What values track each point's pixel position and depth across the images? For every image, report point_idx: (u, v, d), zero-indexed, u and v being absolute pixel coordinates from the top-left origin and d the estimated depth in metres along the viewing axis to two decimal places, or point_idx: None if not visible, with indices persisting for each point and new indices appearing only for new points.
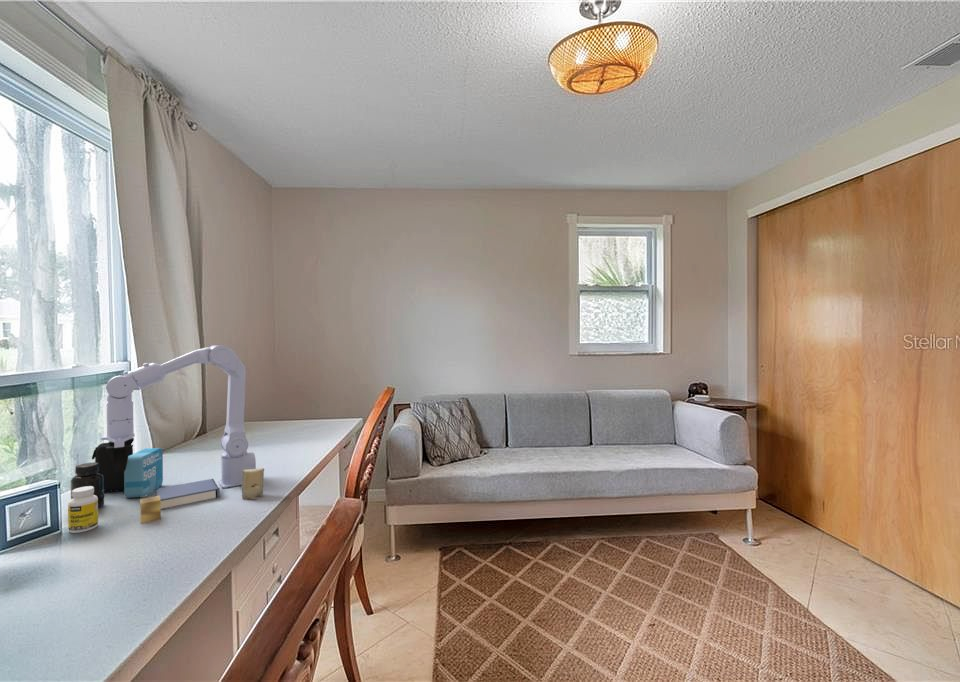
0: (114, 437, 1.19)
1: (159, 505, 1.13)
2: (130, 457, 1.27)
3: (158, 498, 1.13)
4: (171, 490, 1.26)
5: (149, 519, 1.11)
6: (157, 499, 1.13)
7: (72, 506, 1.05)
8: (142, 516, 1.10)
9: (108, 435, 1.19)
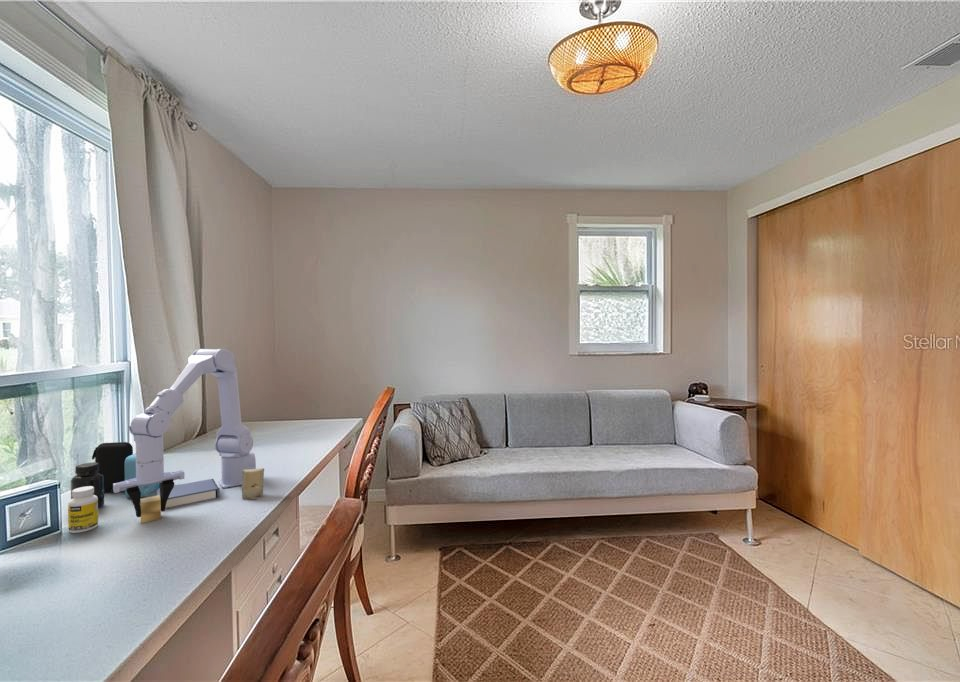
0: (136, 478, 1.12)
1: (159, 505, 1.13)
2: (130, 457, 1.27)
3: (158, 498, 1.13)
4: None
5: (149, 519, 1.11)
6: (157, 499, 1.13)
7: (72, 506, 1.05)
8: (142, 516, 1.10)
9: None
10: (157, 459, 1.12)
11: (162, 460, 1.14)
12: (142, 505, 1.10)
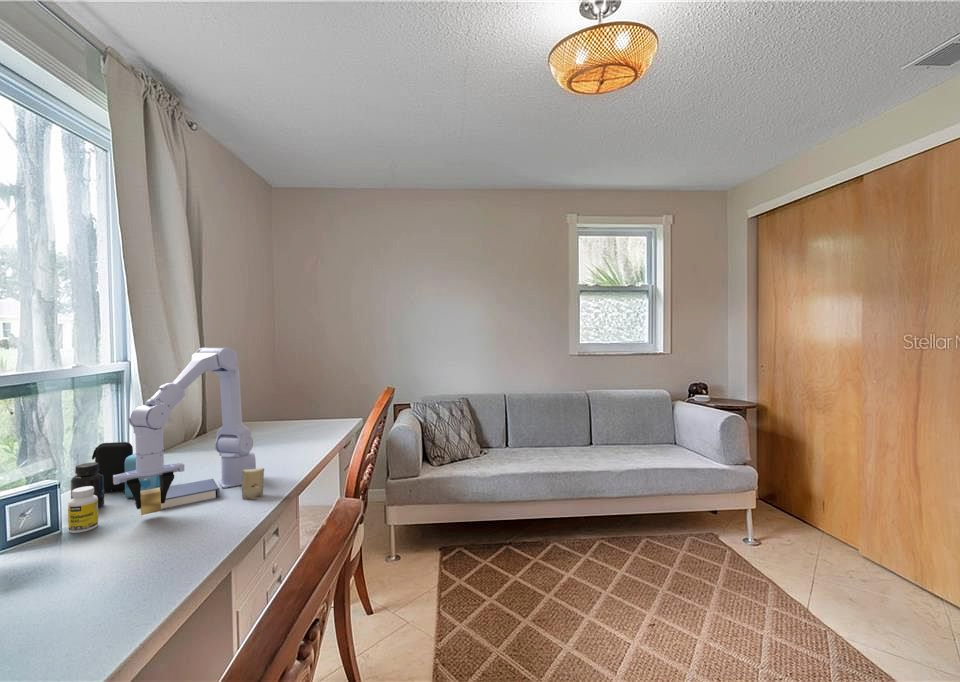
0: (136, 470, 1.12)
1: (159, 497, 1.13)
2: (130, 457, 1.27)
3: (158, 490, 1.13)
4: (171, 490, 1.26)
5: (149, 511, 1.11)
6: (157, 491, 1.13)
7: (72, 506, 1.05)
8: (142, 508, 1.10)
9: None
10: (157, 451, 1.12)
11: (162, 452, 1.14)
12: (142, 497, 1.10)
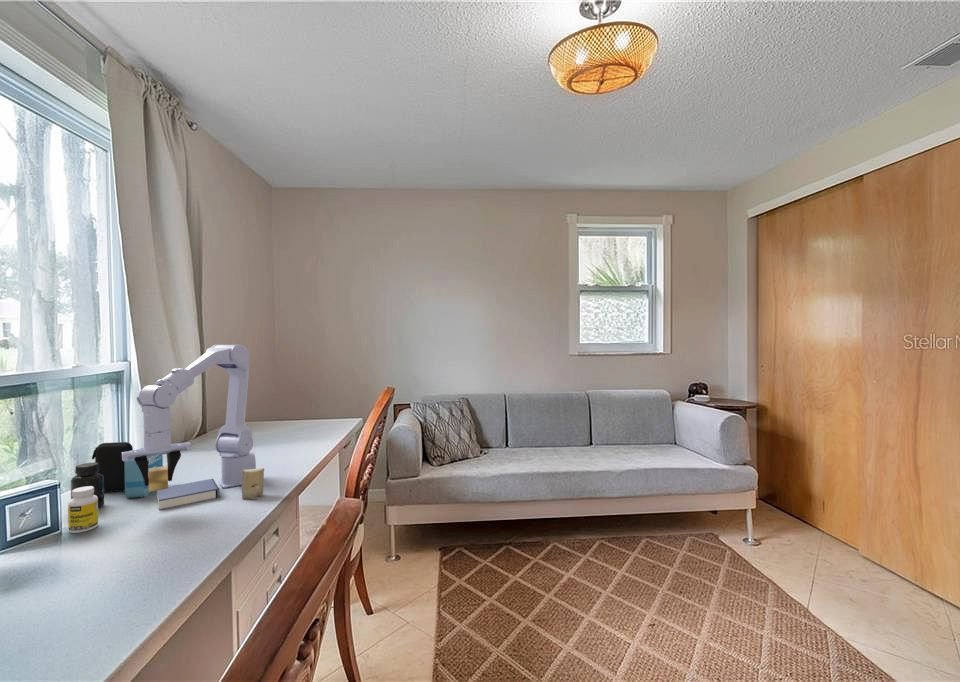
0: (144, 448, 1.15)
1: (166, 474, 1.15)
2: None
3: (166, 468, 1.16)
4: (171, 490, 1.26)
5: (157, 488, 1.14)
6: (164, 469, 1.16)
7: (72, 506, 1.05)
8: (150, 484, 1.13)
9: None
10: (164, 430, 1.15)
11: (169, 431, 1.16)
12: (150, 474, 1.13)
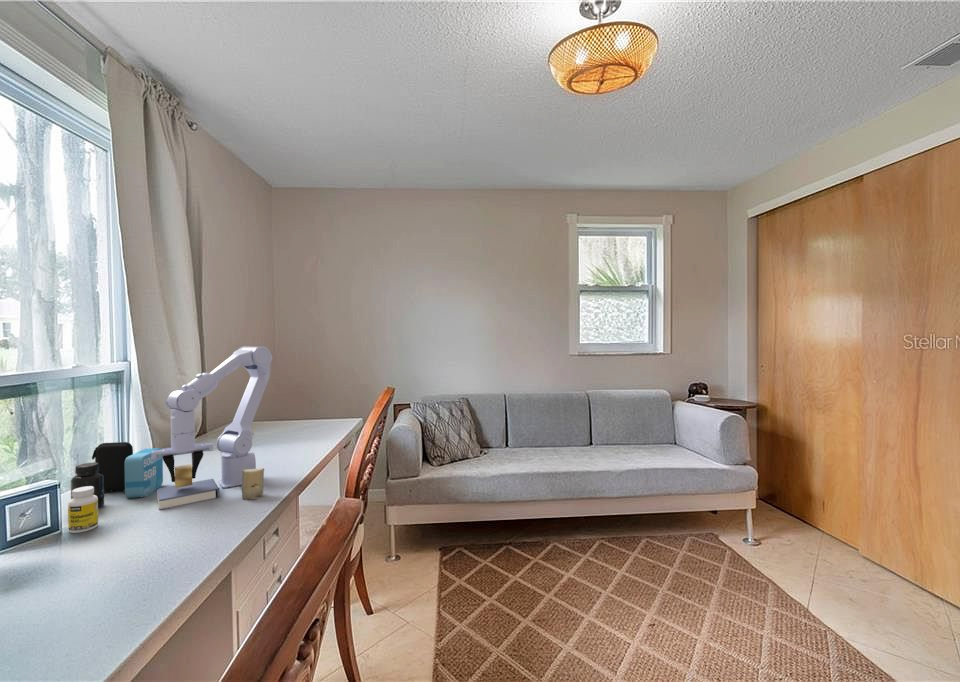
0: None
1: (190, 472, 1.26)
2: (130, 457, 1.27)
3: (190, 466, 1.27)
4: (171, 490, 1.26)
5: (182, 484, 1.25)
6: (189, 467, 1.26)
7: (72, 506, 1.05)
8: (176, 481, 1.24)
9: None
10: (187, 431, 1.25)
11: (193, 432, 1.27)
12: (176, 472, 1.24)
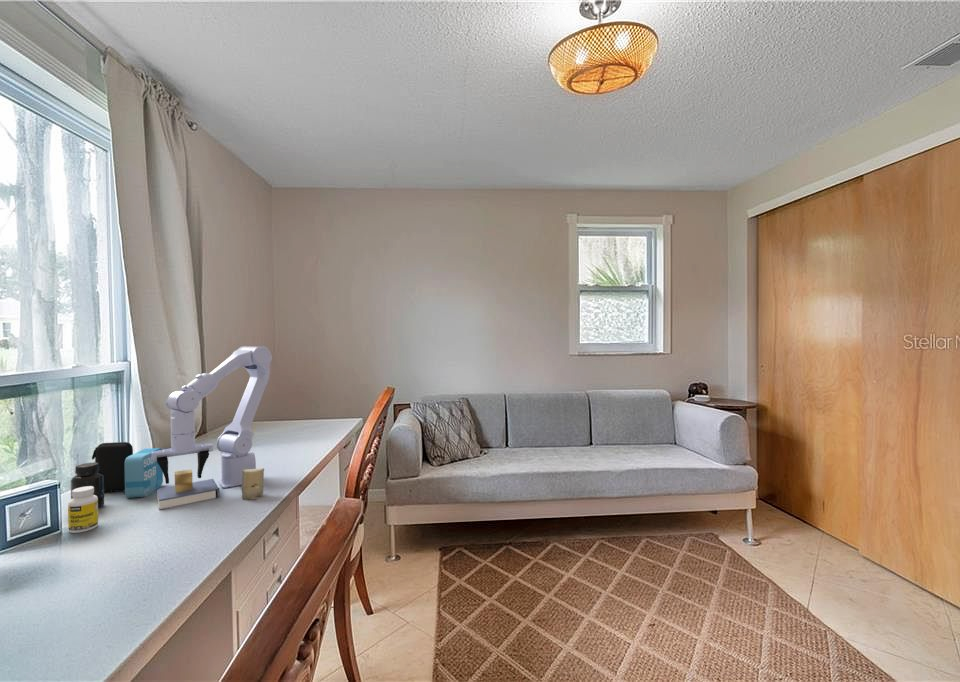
0: None
1: (191, 477, 1.26)
2: (130, 457, 1.27)
3: (190, 471, 1.27)
4: (171, 490, 1.26)
5: (182, 489, 1.25)
6: (189, 472, 1.26)
7: (72, 506, 1.05)
8: (176, 486, 1.24)
9: None
10: (187, 432, 1.25)
11: (193, 433, 1.27)
12: (176, 477, 1.24)
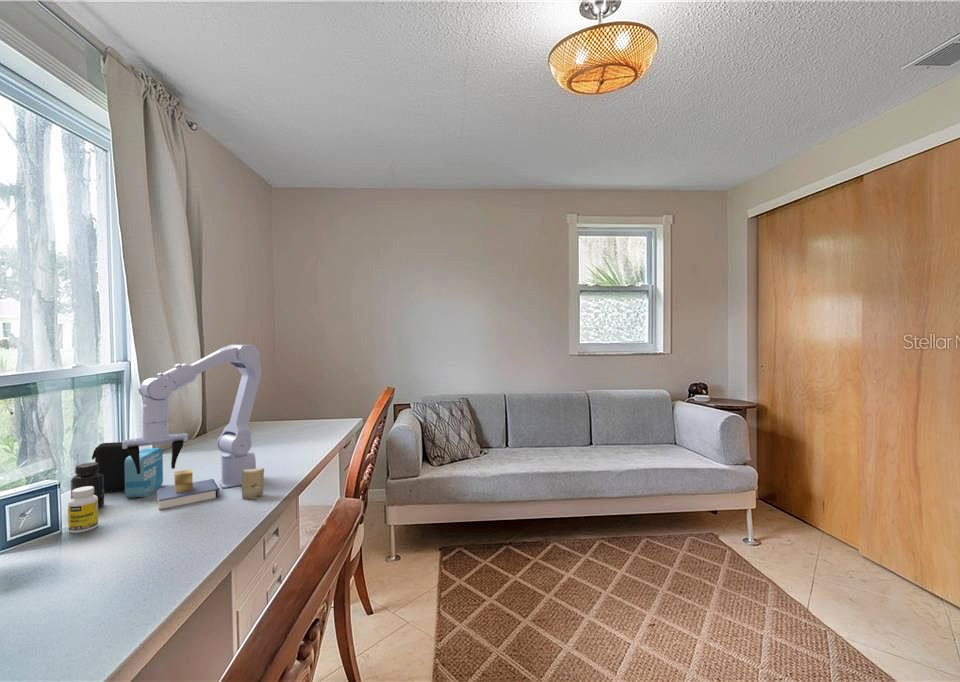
0: None
1: (191, 477, 1.26)
2: (130, 457, 1.27)
3: (190, 471, 1.27)
4: (171, 490, 1.26)
5: (182, 489, 1.25)
6: (189, 472, 1.26)
7: (72, 506, 1.05)
8: (176, 486, 1.24)
9: None
10: (159, 421, 1.20)
11: (166, 422, 1.22)
12: (176, 477, 1.24)
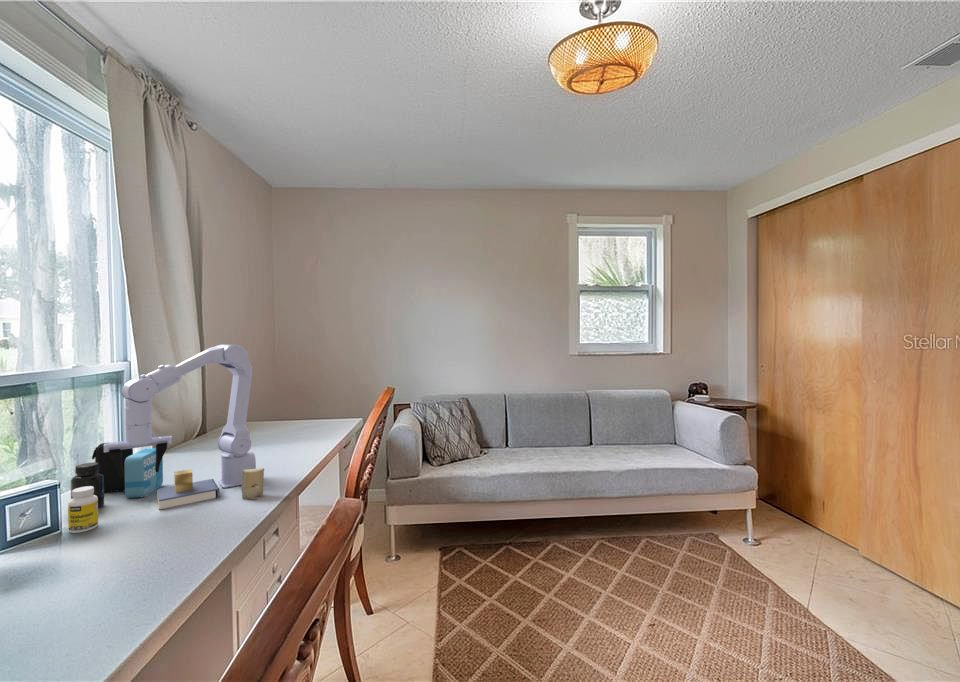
0: None
1: (191, 477, 1.26)
2: (130, 457, 1.27)
3: (190, 471, 1.27)
4: (171, 490, 1.26)
5: (182, 489, 1.25)
6: (189, 472, 1.26)
7: (72, 506, 1.05)
8: (176, 486, 1.24)
9: None
10: (141, 423, 1.17)
11: (149, 424, 1.20)
12: (176, 477, 1.24)
